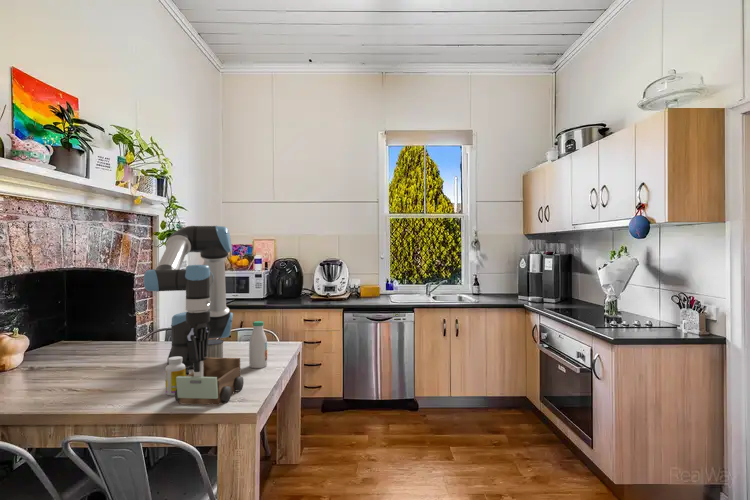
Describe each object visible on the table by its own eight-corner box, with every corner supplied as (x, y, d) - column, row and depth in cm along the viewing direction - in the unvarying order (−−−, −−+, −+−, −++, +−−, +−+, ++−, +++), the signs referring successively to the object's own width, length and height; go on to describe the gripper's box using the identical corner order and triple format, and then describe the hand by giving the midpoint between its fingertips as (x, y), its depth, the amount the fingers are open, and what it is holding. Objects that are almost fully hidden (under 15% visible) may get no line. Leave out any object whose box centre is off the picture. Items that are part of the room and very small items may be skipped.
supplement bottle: (189, 391, 154) (189, 356, 154) (175, 397, 148) (175, 360, 148) (175, 389, 156) (175, 354, 156) (161, 395, 150) (161, 359, 150)
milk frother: (226, 378, 169) (226, 342, 169) (183, 385, 161) (183, 347, 161) (219, 370, 181) (218, 336, 181) (179, 376, 173) (179, 340, 173)
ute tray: (174, 403, 142) (174, 371, 142) (200, 386, 160) (199, 357, 160) (224, 404, 141) (224, 372, 141) (245, 387, 159) (244, 358, 159)
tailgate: (176, 398, 140) (175, 378, 139) (179, 396, 141) (177, 376, 140) (216, 399, 139) (214, 379, 138) (218, 397, 140) (216, 377, 139)
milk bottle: (262, 369, 182) (262, 323, 182) (246, 368, 184) (246, 322, 184) (270, 364, 190) (270, 320, 190) (254, 363, 191) (254, 320, 191)
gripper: (199, 314, 134) (200, 387, 134) (217, 307, 146) (217, 374, 147) (177, 313, 134) (177, 386, 134) (196, 307, 147) (197, 374, 147)
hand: (198, 380), depth 141 cm, fingers closed
